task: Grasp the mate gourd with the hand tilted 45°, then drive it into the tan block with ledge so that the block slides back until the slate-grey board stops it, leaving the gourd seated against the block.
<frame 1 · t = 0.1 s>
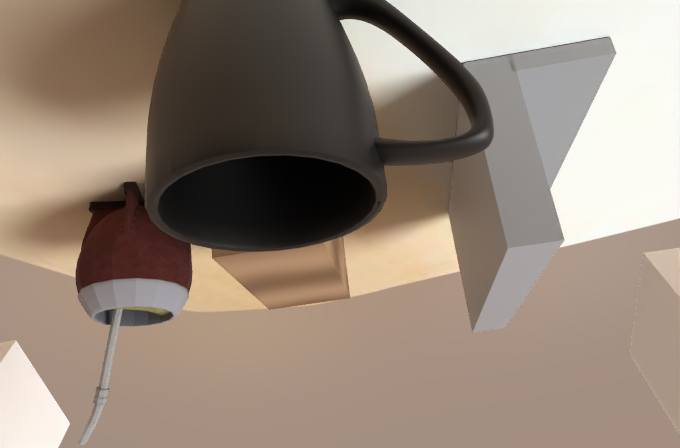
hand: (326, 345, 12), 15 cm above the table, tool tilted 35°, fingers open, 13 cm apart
mate gourd: (136, 203, 39), on the table
backstop board: (472, 151, 37), on the table
tan block with ledge: (285, 230, 36), point 3 cm above the table, slide at 0.0 cm
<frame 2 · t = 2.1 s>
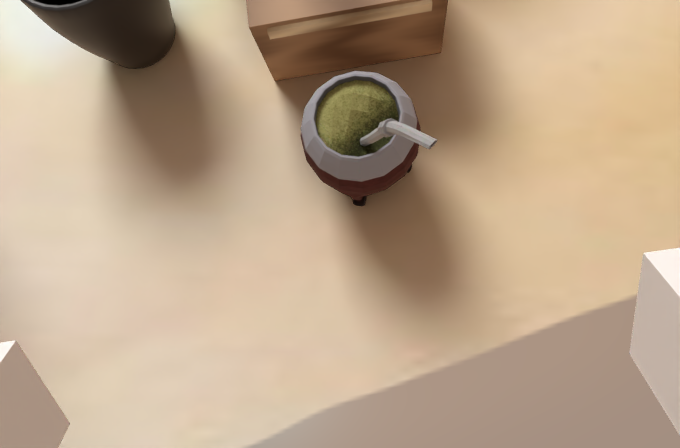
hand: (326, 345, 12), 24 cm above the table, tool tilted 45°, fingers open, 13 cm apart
mate gourd: (371, 166, 38), on the table
mug: (138, 15, 43), on the table
tan block with ledge: (346, 2, 37), point 3 cm above the table, slide at 0.0 cm
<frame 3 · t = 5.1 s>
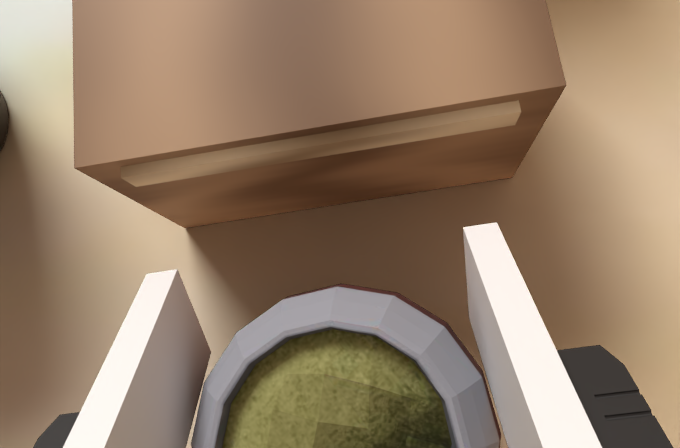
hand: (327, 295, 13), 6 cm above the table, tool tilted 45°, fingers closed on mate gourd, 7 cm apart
mate gourd: (376, 418, 18), on the table, touching gripper
tan block with ledge: (319, 87, 17), point 3 cm above the table, slide at 0.0 cm
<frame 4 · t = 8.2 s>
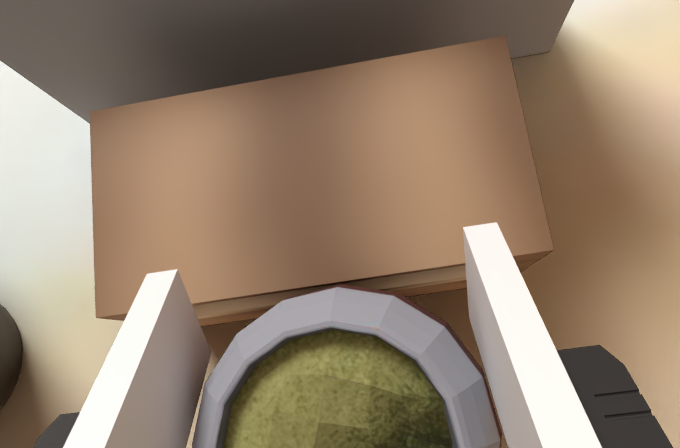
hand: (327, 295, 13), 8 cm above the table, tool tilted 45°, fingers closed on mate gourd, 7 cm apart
mate gourd: (377, 419, 18), point 2 cm above the table, touching gripper
backstop board: (314, 67, 23), on the table
tan block with ledge: (323, 211, 18), point 3 cm above the table, slide at 5.7 cm
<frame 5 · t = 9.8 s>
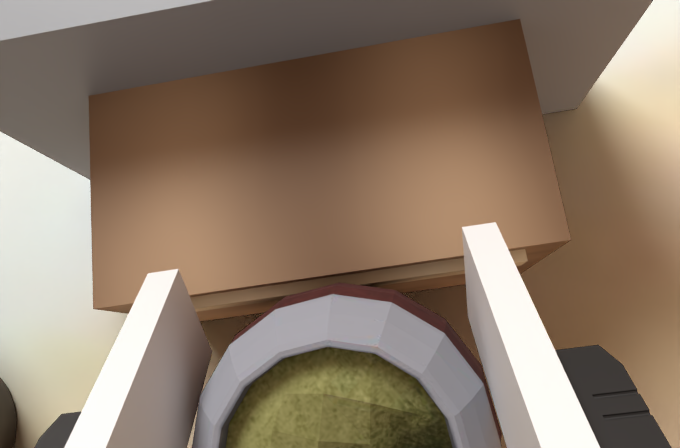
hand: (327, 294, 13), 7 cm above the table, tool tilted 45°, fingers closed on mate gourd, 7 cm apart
mate gourd: (373, 395, 19), point 1 cm above the table, touching gripper, tan block with ledge
backstop board: (327, 120, 22), on the table
tan block with ledge: (328, 202, 18), point 4 cm above the table, slide at 8.5 cm, touching backstop board, mate gourd
when the fingers open (7 cm above the table, at t = 10.0 s): mate gourd stays where it is, resting on tan block with ledge.
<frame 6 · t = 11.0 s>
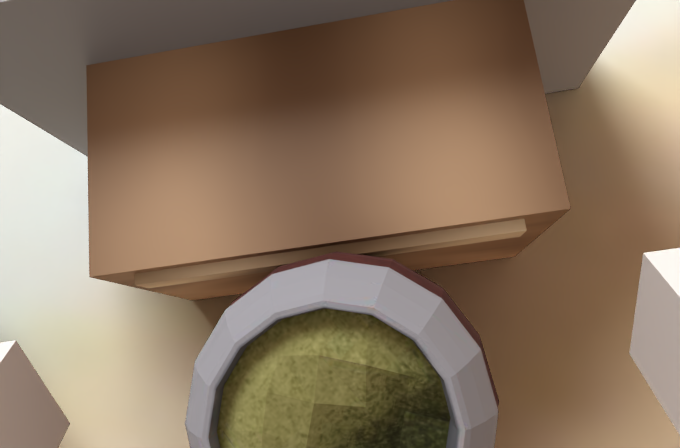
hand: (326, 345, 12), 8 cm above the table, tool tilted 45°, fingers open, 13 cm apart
mate gourd: (371, 373, 19), point 1 cm above the table, touching tan block with ledge
backstop board: (327, 99, 22), on the table
tan block with ledge: (327, 177, 18), point 4 cm above the table, slide at 8.5 cm, touching mate gourd
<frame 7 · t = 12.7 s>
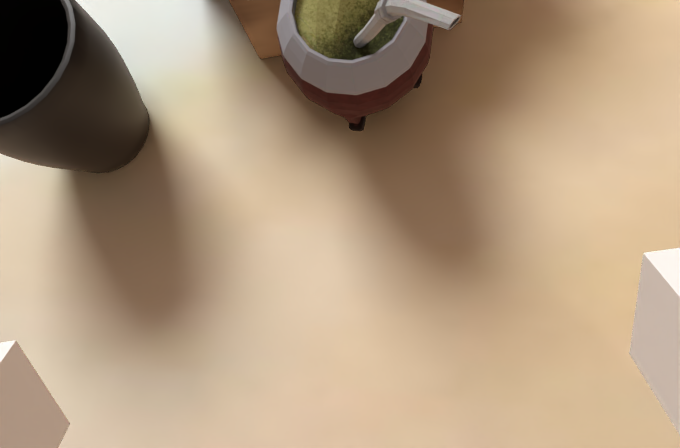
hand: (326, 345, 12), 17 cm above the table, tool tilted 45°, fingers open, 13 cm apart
mate gourd: (371, 82, 31), point 1 cm above the table, touching tan block with ledge
mug: (106, 103, 34), on the table
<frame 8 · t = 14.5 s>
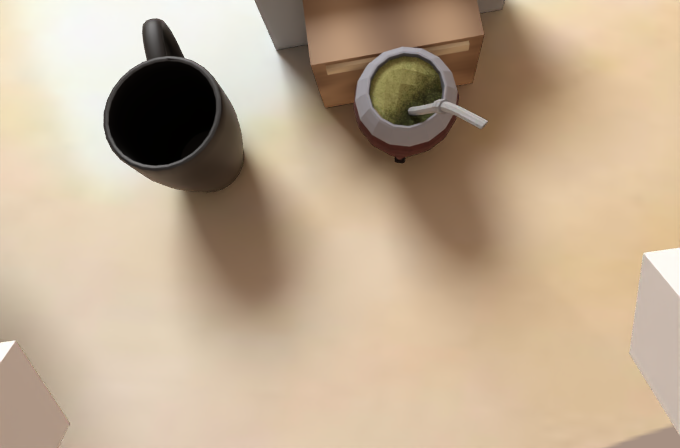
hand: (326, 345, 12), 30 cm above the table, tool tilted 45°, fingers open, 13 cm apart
mate gourd: (409, 127, 43), point 1 cm above the table, touching tan block with ledge
backstop board: (385, 17, 47), on the table
mug: (208, 139, 46), on the table
tan block with ledge: (391, 40, 42), point 4 cm above the table, slide at 8.5 cm, touching mate gourd
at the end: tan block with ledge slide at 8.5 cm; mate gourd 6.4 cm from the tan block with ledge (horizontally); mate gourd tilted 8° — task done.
